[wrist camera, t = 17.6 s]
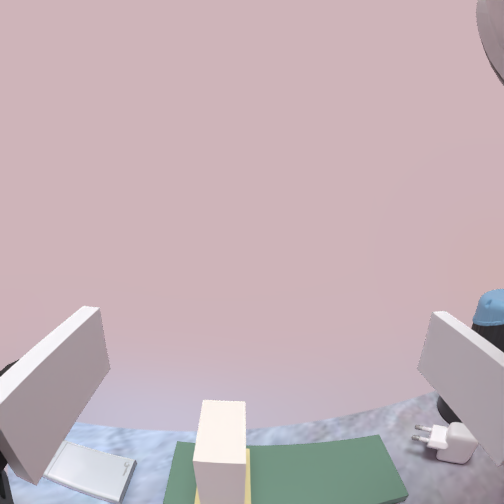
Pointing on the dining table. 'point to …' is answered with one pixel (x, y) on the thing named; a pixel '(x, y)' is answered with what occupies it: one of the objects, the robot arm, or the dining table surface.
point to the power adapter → (450, 442)
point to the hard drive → (91, 472)
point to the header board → (302, 474)
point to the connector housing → (221, 453)
